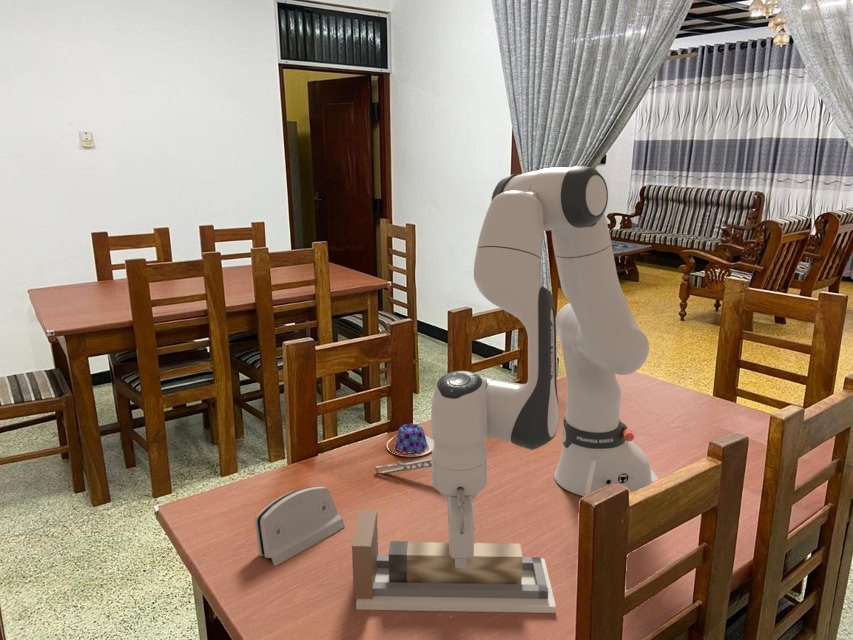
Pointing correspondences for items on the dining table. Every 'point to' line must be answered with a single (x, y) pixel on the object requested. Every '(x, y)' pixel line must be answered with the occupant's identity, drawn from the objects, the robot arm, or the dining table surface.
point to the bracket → (405, 466)
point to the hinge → (296, 523)
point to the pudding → (412, 440)
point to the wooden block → (438, 567)
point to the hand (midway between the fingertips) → (459, 546)
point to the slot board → (387, 595)
